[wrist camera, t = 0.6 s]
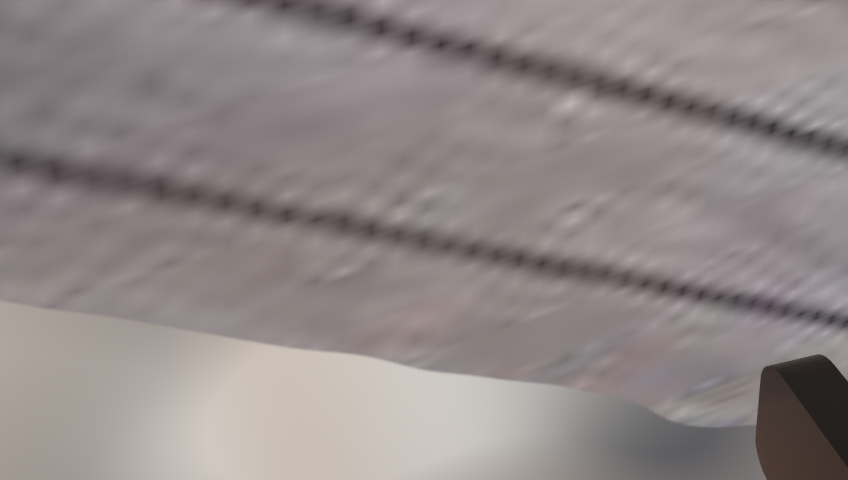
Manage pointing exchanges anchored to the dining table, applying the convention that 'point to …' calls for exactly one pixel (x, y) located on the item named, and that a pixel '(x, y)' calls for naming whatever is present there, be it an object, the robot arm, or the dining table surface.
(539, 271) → the dining table surface
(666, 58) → the dining table surface
